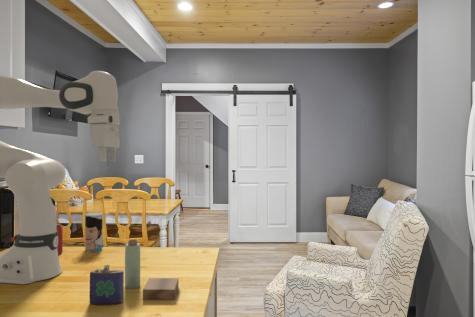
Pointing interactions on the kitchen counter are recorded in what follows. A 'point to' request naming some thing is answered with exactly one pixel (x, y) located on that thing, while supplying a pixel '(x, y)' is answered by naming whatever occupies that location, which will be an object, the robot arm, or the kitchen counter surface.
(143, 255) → the kitchen counter surface
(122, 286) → the flask
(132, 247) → the pepper mill
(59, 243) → the beer can
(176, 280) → the plinth
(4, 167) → the robot arm
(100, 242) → the cup
